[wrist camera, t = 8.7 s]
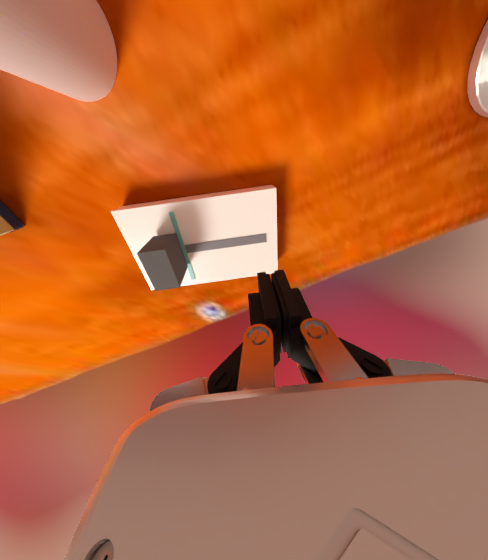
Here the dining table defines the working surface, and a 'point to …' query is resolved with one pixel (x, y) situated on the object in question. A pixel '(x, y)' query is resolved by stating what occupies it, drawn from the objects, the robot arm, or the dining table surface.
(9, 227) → the protein box
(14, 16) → the white cylinder
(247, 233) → the fader console
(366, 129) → the dining table surface
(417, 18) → the dining table surface
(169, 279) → the fader knob
